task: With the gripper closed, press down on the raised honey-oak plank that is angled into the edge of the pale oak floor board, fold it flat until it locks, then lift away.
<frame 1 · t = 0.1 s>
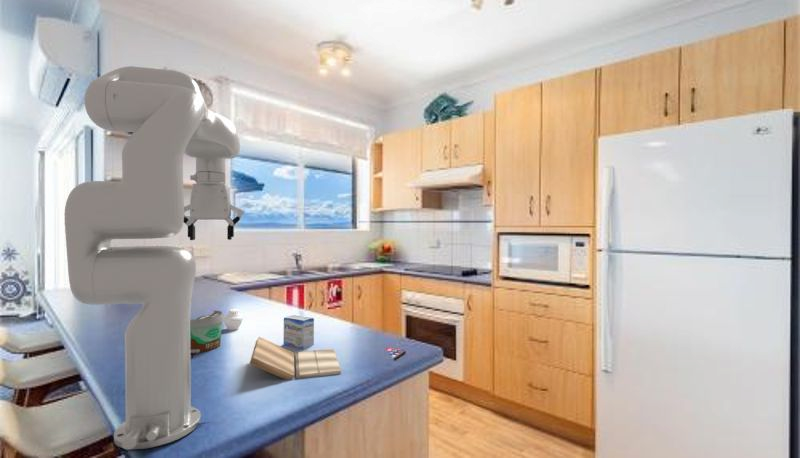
hand: (211, 239, 108), 31 cm above the counter, fingers open, 9 cm apart
installed board: (316, 366, 94), on the counter
click plank: (273, 357, 91), point 3 cm above the counter, hinge at 30.0°
food container: (210, 351, 107), on the counter
smartphone: (382, 360, 100), on the counter
medicine box: (298, 348, 109), on the counter
white rounded piece: (233, 329, 129), on the counter
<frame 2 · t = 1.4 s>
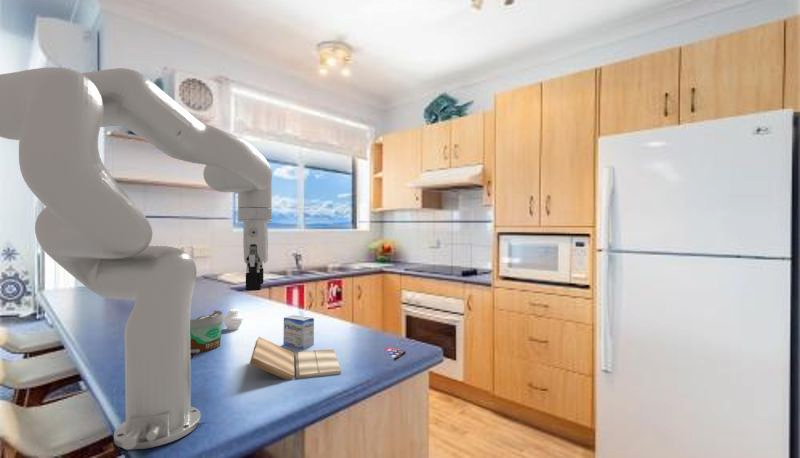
hand: (255, 287, 91), 20 cm above the counter, fingers open, 9 cm apart
nothing on the counter moved.
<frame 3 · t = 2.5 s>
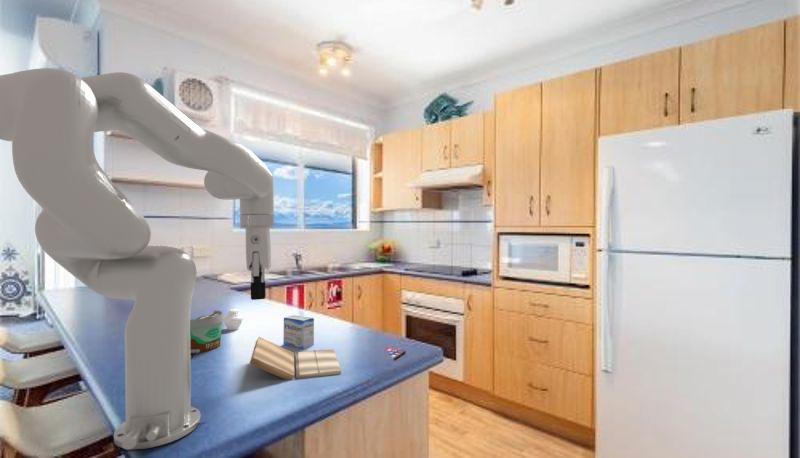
hand: (258, 298, 91), 18 cm above the counter, fingers closed
nothing on the counter moved.
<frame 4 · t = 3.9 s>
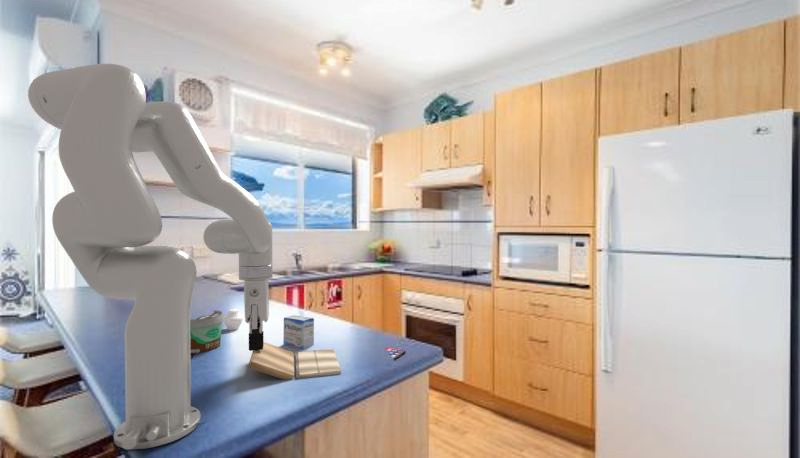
hand: (256, 349, 90), 6 cm above the counter, fingers closed
click plank: (272, 359, 91), point 3 cm above the counter, hinge at 25.0°, touching gripper
everything else where it was.
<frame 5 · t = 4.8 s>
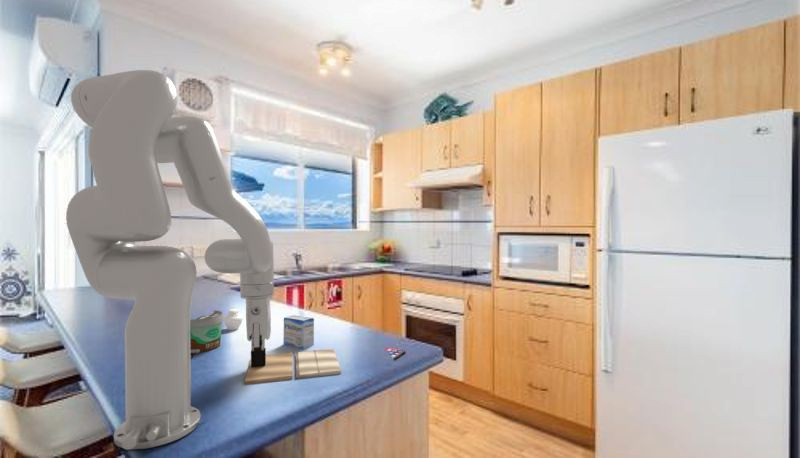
hand: (258, 365, 91), 1 cm above the counter, fingers closed
click plank: (270, 368, 91), point 1 cm above the counter, hinge at -0.3°, touching gripper
everything else where it was.
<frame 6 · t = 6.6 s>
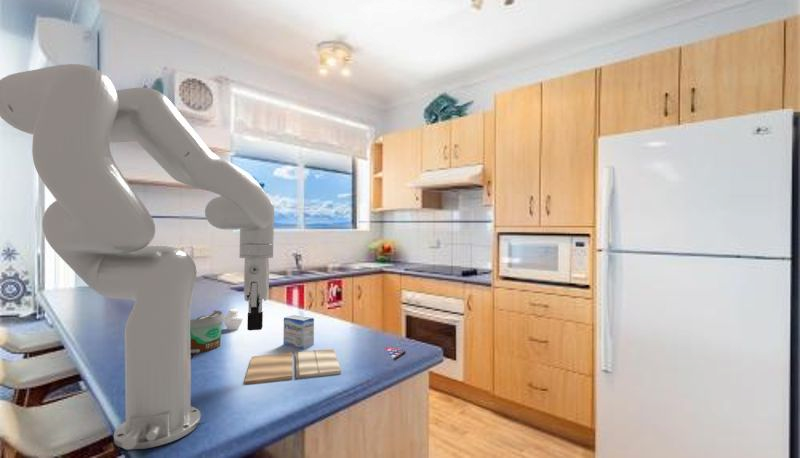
hand: (254, 329, 89), 11 cm above the counter, fingers closed
click plank: (270, 368, 91), point 1 cm above the counter, hinge at -0.7°
everything else where it was.
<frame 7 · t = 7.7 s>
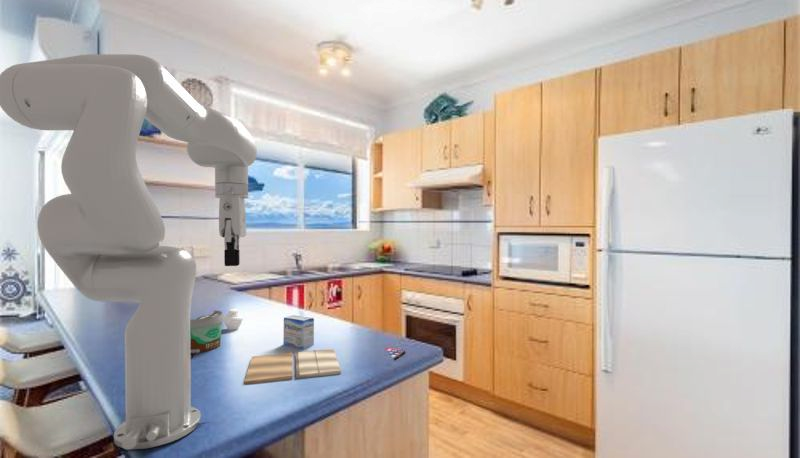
hand: (232, 265, 94), 25 cm above the counter, fingers closed
nothing on the counter moved.
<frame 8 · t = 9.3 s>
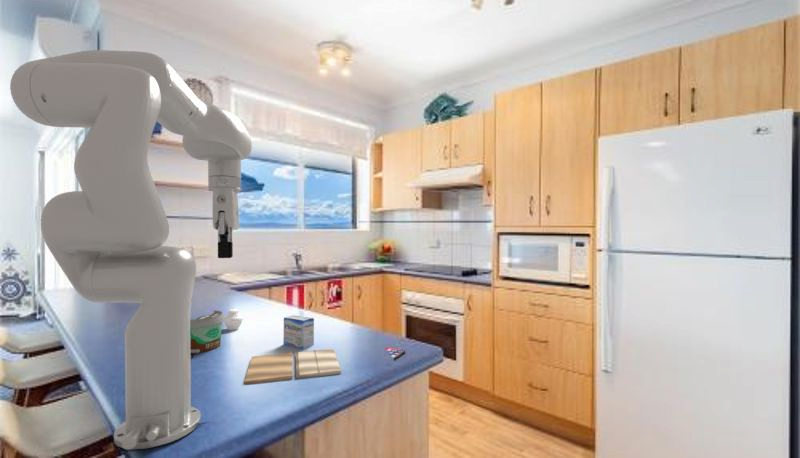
hand: (225, 257, 96), 27 cm above the counter, fingers closed
nothing on the counter moved.
at the end: click plank at -1° (first picture: +30°) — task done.
